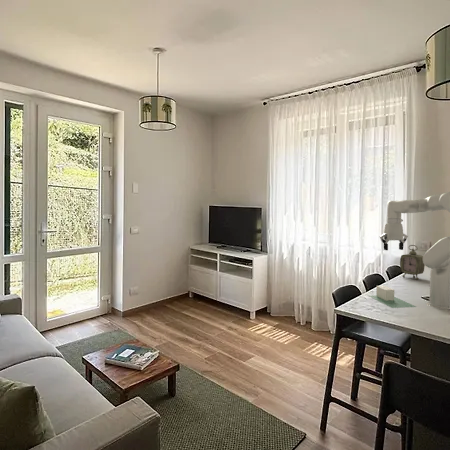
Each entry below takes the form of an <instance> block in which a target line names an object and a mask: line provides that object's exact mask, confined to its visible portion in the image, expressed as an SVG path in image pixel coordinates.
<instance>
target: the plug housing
mask: <svg viewBox="0 0 450 450" xmlns="http://www.w3.org/2000/svg"><path fill="white" fill-rule="evenodd" d="M375 295H376V296H378V297H380V298H382V299H384V300H386V301H388V300H394V297H395V289H393V288H391V287H390V286H389V287H388V286H386V285H376V293H375Z"/></svg>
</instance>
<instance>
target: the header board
mask: <svg viewBox="0 0 450 450" xmlns="http://www.w3.org/2000/svg"><path fill="white" fill-rule="evenodd" d="M369 297H370V298H372V299H374V300H376V301H378V302H380V303H382V304H383V305H386V306H387V307H389V308H392V309H394V308H395V309H396V308H397V309H398V308H416V307H417V306H416V305H413V304H412V303H409V302H407V301H406V300H405V301H404V300H402V299H400V298H398V297H395V296H394V300H388V301H386V300H384V299H382V298H380V297H378V296H376V294H375V295H374V294H373V295H369Z"/></svg>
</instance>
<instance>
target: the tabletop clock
mask: <svg viewBox="0 0 450 450" xmlns="http://www.w3.org/2000/svg"><path fill="white" fill-rule="evenodd" d="M412 246H413V247H416V249H414V248H410V247H412ZM408 250H409V253H405V254H401V256H400V260H399V269H400V272H401V273H402V277H403V278H405V275H411V276H412V277H413V279H415V280H417V281H418V280H419V278H418V275H421V274H424V272H425V267H426V266H425V265H424V263H423V256H424V255H421V254H418V253H417V252H416V251H417V250H418V246H417V245H414V244H410V245H409V246H408Z"/></svg>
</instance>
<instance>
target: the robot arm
mask: <svg viewBox="0 0 450 450" xmlns="http://www.w3.org/2000/svg"><path fill="white" fill-rule="evenodd" d="M445 210H446V211H448V212H449V213H450V191H447V192H444V193H440V194H432V195H430V196H428V197H426V198H421V199H409V200H408V199H402V200H388V201H387V217H386V223H385V226H384V230H383V234H381V235H380V236H379V239H380V241H381V242H382V244H383V250H384V251H389V243H388V242H389V241H399V243H398V250H400V251H403V250H404V245H405V242H406V241H407V240H408V237H409V235H408V234H406V233H404V227H403V226H404V225H403V223H402V222H403V221H404V220H403V218H402V214H415V213H417V214H418V213H425V212H436V211H437V212H438V211H445ZM422 256H423V263H424V265H425V267H426V268H428V269H430V274H429V275H430V277H429V301H428V302H426V303H425V304H426V305H427V306H429V307H432V308H437V309H443V310H444V309H445V310H449V311H450V235H449V236H444V237H443V238H442V237H441V238H440V239H439V240H438V241H437V242H435V243H434V244H433V245H432V246H431V247H430V248H429V249H428V250H426V252H425V253H424V254H423V255H422Z"/></svg>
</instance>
